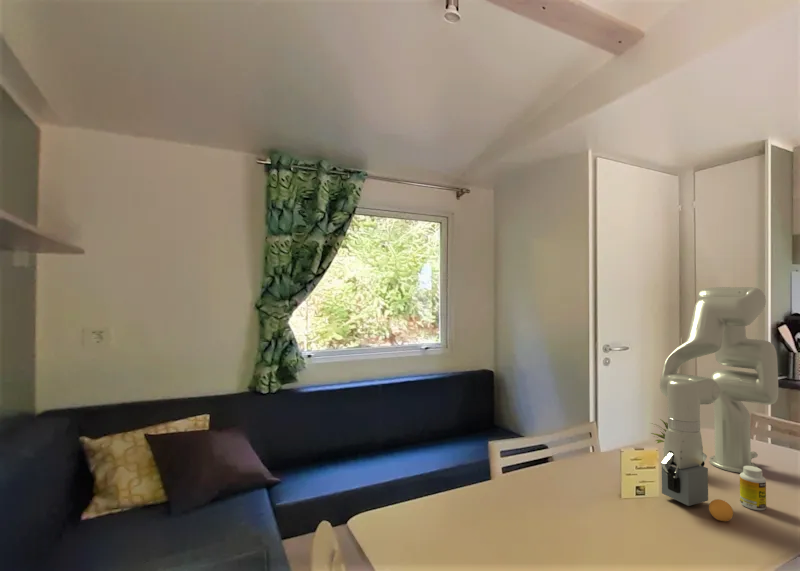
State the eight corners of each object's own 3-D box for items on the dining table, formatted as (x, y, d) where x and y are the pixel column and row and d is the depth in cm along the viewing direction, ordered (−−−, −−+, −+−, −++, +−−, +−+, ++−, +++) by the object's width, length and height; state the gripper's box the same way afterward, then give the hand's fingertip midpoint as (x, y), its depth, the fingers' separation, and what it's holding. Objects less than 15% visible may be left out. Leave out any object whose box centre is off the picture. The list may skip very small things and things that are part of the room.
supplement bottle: (761, 513, 115) (761, 474, 115) (736, 505, 120) (735, 467, 120) (769, 507, 118) (769, 469, 118) (744, 499, 123) (744, 462, 123)
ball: (741, 520, 110) (722, 519, 114) (733, 498, 111) (715, 497, 116) (726, 523, 108) (708, 521, 112) (719, 500, 110) (701, 499, 114)
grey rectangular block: (681, 488, 126) (680, 457, 127) (708, 500, 119) (707, 468, 119) (661, 493, 124) (661, 462, 124) (688, 505, 117) (688, 472, 117)
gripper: (692, 417, 128) (693, 477, 128) (648, 424, 122) (649, 488, 122) (718, 424, 121) (719, 488, 121) (674, 432, 115) (675, 500, 115)
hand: (684, 488), depth 121 cm, fingers closed on grey rectangular block, 7 cm apart
